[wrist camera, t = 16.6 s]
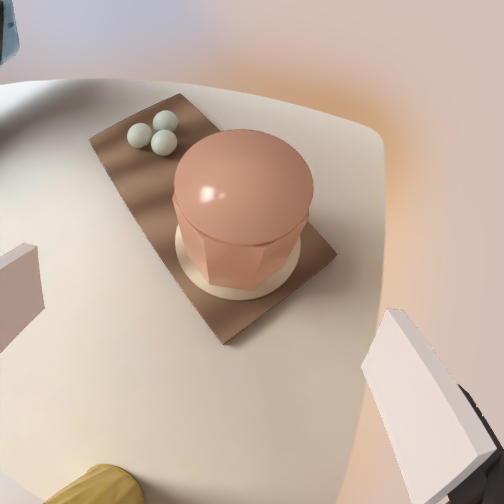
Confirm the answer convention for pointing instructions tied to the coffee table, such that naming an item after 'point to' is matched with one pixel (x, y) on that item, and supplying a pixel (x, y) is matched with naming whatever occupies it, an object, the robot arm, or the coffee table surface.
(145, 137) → the marble
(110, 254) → the coffee table surface
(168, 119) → the marble
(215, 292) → the coaster
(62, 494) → the vase
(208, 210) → the domed lid canister
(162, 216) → the board
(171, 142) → the marble
